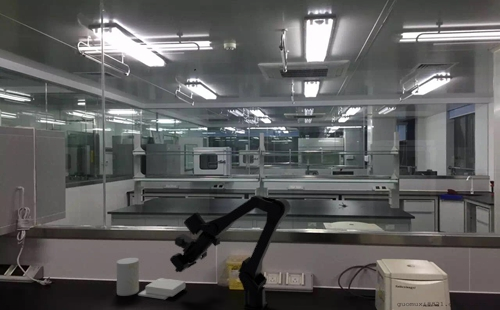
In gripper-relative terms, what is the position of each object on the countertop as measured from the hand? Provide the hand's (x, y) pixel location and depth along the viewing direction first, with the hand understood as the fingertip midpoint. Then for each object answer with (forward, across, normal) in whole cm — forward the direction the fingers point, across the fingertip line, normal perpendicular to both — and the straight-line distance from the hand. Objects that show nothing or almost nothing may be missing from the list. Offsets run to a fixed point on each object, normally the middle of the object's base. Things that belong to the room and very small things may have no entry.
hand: (176, 271), depth 123 cm
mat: (+11, +1, +1) cm, 11 cm away
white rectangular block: (+4, 0, +6) cm, 7 cm away
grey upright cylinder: (+20, +4, -8) cm, 22 cm away
